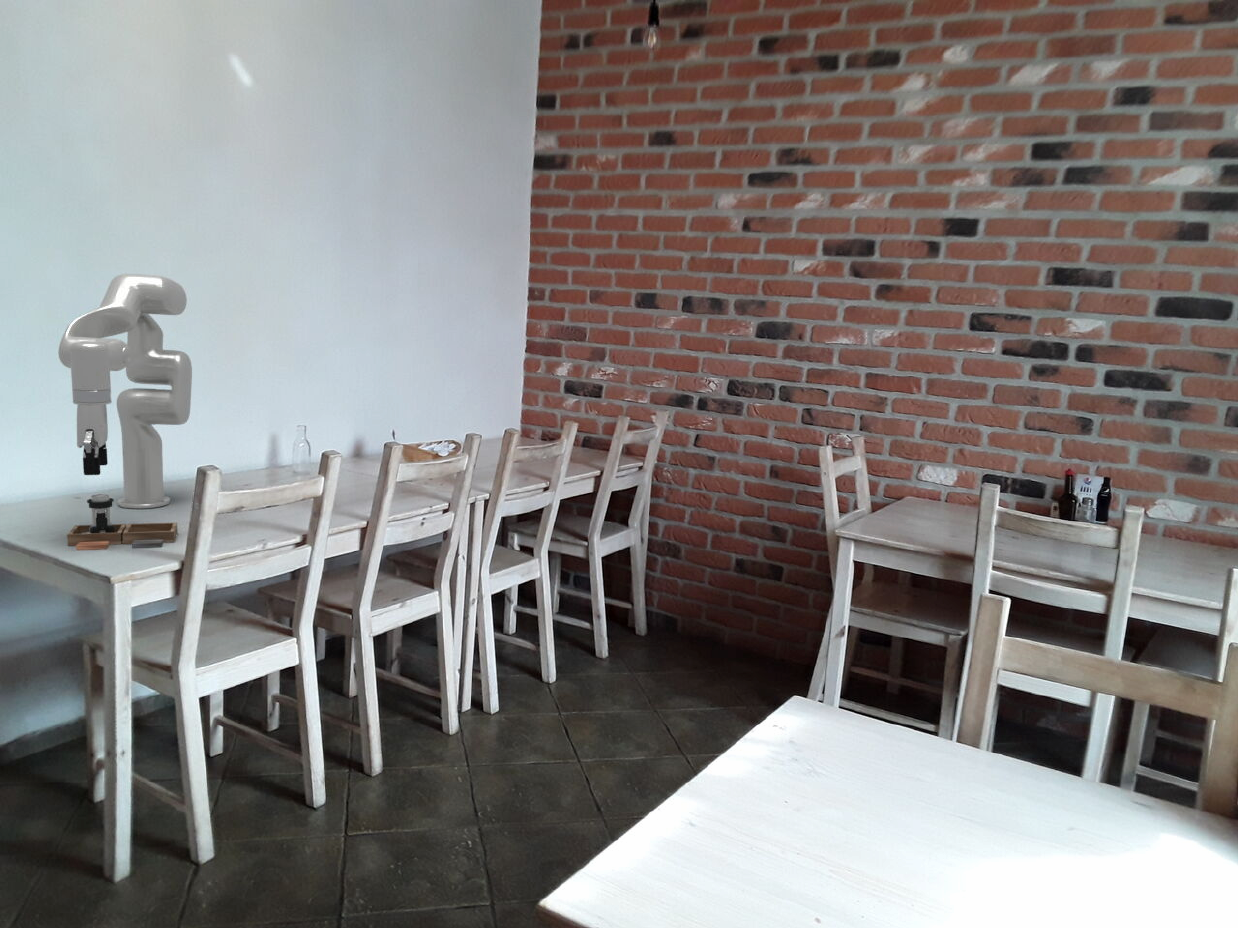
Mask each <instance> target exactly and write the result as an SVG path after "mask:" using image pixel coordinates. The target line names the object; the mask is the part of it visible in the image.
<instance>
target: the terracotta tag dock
mask: <svg viewBox="0 0 1238 928" xmlns="http://www.w3.org/2000/svg"><path fill="white" fill-rule="evenodd" d="M110 525H112V526H113V527H114V533H87V532H89V528H90V527H93V526H91V524H80V525H79V524H76V525H74V526H73V527H72V528H71V530H70V531H69V532H68V533H67V534H66V535H67V537H66V538H67V547H75V548H76V549H75V550H76V551H89V550H90V551H92V550H94V551H95V550H107V549H108V548H109V546H110V545H122V544H123V532H124V530H125V528H126V526H127V523H112V524H110ZM82 533H84V534H82ZM85 533H86V534H85Z"/></svg>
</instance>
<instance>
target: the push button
mask: <svg viewBox="0 0 1238 928" xmlns="http://www.w3.org/2000/svg"><path fill="white" fill-rule="evenodd" d="M90 497H91V498H89V499H87V500H86V503H87V504H88V508H89V509H91V520H92V523H91V524H90V525H91V526H93V527H90V528H89V532H87V533H114V527H113V526H112V525H110V524H113V523H112V522H111V514H110V513H111V511H110V508H112V507H113V503H114V501H115V500H114V498H112V497H110V495H109V494H107V493H106V494H105V493H104V494H103V493H100V494H92V495H91V496H90ZM82 534H84V533H82ZM85 534H86V533H85Z"/></svg>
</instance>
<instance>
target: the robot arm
mask: <svg viewBox="0 0 1238 928" xmlns="http://www.w3.org/2000/svg"><path fill="white" fill-rule="evenodd" d="M186 294H187V293H186V291H185V289H184V288H183V286H182V285H180V283H179V282H176V281H174V280H173V279H171V278H168V277H165V276H162V275H153V274H152V275H151V274H139V273H138V274H137V273H122V274H121V273H120V274H119V275H116V276H114V278H113V279H111V281H110V283H109V285H108V287H107V289H106V292H105V294H104V297H103V299H102V301H101V303H100V306H99V307H97V308H95V309H93V310H90V311H89V312H86V313H84V314H82V315H81V316H80V315H79V317H77V318H74V319H73V320H72V321H71V322H70V323H69V324H68V325H67V327H66V329H65V330H64V333H63V334H62V337H61V340H60V343H59V346H58V359H59V362H60V363H61V364H62V365H63V366H64V367H66V368H68V369H70V374H71V375H70V376H71V388H72V389H71V391H72V392H71V393H72V404H73V405H77V407H76V445H77V448H79V449H81V448H83V452H82V456H83V457H82V465H83V467H82V468H83V469H82V470H83V475H84V476H99V475H101V466H107V465H108V448H107V441H108V438H109V437H108V436H109V434H108V433H109V429H108V428H109V427H108V409H107V405H109V404H112V390H111V389H112V386H111V372H118V371H122V370H124V369H125V374H126V377H127V379H128V380H129V381H130V382H132V383H134V384H140V385H154V386H159V385H161V386H170V387H171V388H170V389H165V388H163V389H159V388H145V387H142V388H141V387H138V388H137V387H135V388H128V389H125V390H122V391H121V392H120V393H119V394H118V395H117V399H116V409H117V414H118V418H119V423H120V428H121V429H120V430H121V431H120V432H121V446H122V449H121V450H122V470H123V472H122V473H123V496H124V497H121V498H119V499H118V500H117V506H119V507H122V508H126V509H152V508H154V509H155V508H160V507H164V506H167V505H169V504H170V503H171V498H170V497H169V496H166V495H164V494H165V493H164V466H163V465H164V464H163V441H162V437H161V435H160V434H159V433H158V430H156V429H155V428H154V426H153V425H166V426H167V425H168V426H169V425H170V426H177V425H178V426H179V425H184V424H186V423H187V422H188V420H189V418H190V413H191V405H192V404H191V403H192V402H191V401H192V384H193V383H192V381H193V366H192V361H191V358H190V356H189V355H188V354H187V353H186V352H185V351H181V350H175V349H174V350H173V349H164V347H163V345H164V332H163V329H162V328H161V326H160V325H159V324H158V322H157V321H156V320H155V319H154V318H153V317H152V316H151V315H161V316H163V315H164V316H179V315H181V314H183V313H184V312H185V309H186V307H187V295H186ZM125 333H127V337H126V338H127V341H126V342H125V341H123V340H121V339H117V338H109V337H114V336H117V335H121V334H125Z"/></svg>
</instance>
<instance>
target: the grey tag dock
mask: <svg viewBox="0 0 1238 928" xmlns="http://www.w3.org/2000/svg"><path fill="white" fill-rule="evenodd" d="M177 532H178V522H151V523H150V522H149V523H148V522H147V523H144V522H143V523H128V524H126V528H125V530H124V532H123V542H122V544H123V545H131V549H144V548H145V549H146V548H147V549H149V548H162V547H163V544H166V542H169V543H175V541H176V539H177V536H176V535H178V533H177Z"/></svg>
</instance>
